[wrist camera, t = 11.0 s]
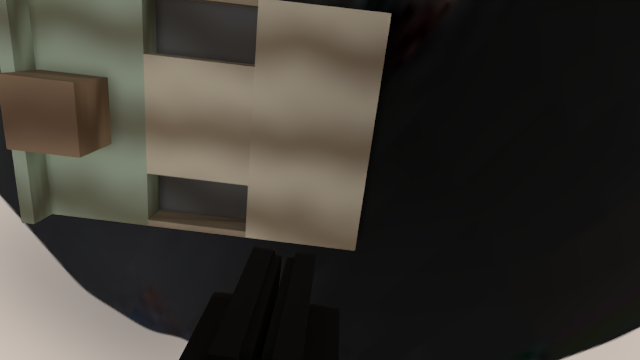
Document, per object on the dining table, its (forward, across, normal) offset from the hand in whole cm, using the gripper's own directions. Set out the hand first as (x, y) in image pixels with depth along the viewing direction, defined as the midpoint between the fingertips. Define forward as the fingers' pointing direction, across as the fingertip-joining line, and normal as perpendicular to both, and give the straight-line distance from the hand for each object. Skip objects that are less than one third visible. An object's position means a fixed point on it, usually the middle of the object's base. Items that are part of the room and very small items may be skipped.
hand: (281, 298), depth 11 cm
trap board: (+23, +9, 0) cm, 25 cm away
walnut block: (+20, +18, 0) cm, 27 cm away
